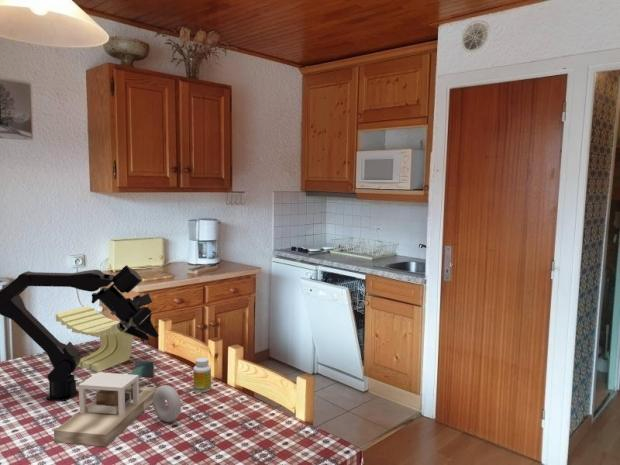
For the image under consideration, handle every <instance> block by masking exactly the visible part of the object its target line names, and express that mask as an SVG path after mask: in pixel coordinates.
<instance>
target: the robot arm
mask: <svg viewBox="0 0 620 465" xmlns="http://www.w3.org/2000/svg"><path fill="white" fill-rule="evenodd" d="M141 282H143V278H142V277H141V276H140V274H139V273H138V272H137V271H135V270H134V269H133V268H132V267H129V265H124V266H123V267H122V268H121V270H120V271H118V273H116V274H115V275H114V274H107V273H104V272H102V270H100V269H89V270H82V271H77V272H40V271H39V272H35V271H30V270H28V271H25V272H22V273H20V274H18V276H17V277H16V278H15V279H14V280H12V281H11V282H10V283H9V284H8V285H6V286H5V287H2V288H0V316H3V317H5V318H7V319H10V320H12V321H13V323H15V324H16V325H17V326H18V327H19V328H20V329H21V330H22V331H24V333H26V335H27V336H29V338H30V339H32V341H34V343H35V344H37V345H38V346H39V347H40V348H41V349H42V350H43V351H44V352H45V353H46V354H47V357H48V359H49V361H50V364H51V365H52V367H53V368H52V369H51V370H50V372H48V374H47V375H46V377H47V380H48V382H49V383H48V384H49V386H48V387H49V395H48V396H47V397H45V399H46V400H52V401H63V402H64V401H67V400H69V399H71V398H72V397H73V396H75V395H76V394H79V390H77V382H76V380H75V374H72V373H73V372H74V371H75V370H76V369H77V368H78V364H79V363H80V361H81V358H82V356H81V354H80V349H78V348H76V347H75V346H74V344H73V343H72V342H71V341H69V342H68V343H63V342H61V341H60V340H58V338H56V337H55V336H54V334H52V333H51V332H50V330H48V329H47V328H46V327H45V326H44V325H43V324H42V322H40V321H39V320H38V319H37V318H36V317H35V316H34V315H33V314H32V313H31V312H30V311H29V310H28V309H27V308H26V306H25V303H24V300H23V299H22V297H21V294H22V293H23V292H24V291H25V290H26V289H27V288H28V287H57V288H58V287H63V288H74V289H75V290H79V291H83V292H84V291H86V292H91V293H92V292H93V293H92V294H91V303H92V304H95V303H96V302H97V301H98V300H99V301H100V302H101V303H102V304H103V305H104V306H105V307H106V308H107V309H108V310H109V311H110V314H111V316H115V317H116V318H117V319H118V320H119V321H120V322H119V323H118V324H117V329H118V330H119V331H121V332H123V331H124V330H125V331H124V332H123V333H126V334H129V335H132V336H134V337H135V338H138V339H141V340H144V341H146V342H147V341H149V340H150V337H152V338H155V339H157V338H158V337H159V334H158V331H157V330H156V328H155V326H154V324H153V322H152V310H151V309H150V308H149V307H148V305H150V304H151V303H152V304H153V300H152V298H151V296H150V293H146V294H144V295H139V294H137V295H134V296H133V297H132V298H130V297H125V296H124V295H123V294H125V293H127V294H129V293H130V292H131V291H132V290H133V289H135V288H136V287H137V286H138V285H140V283H141ZM111 283H112V284H111ZM109 285H110V286H109ZM108 286H109V287H108ZM98 290H99V291H98ZM96 291H98V292H96ZM147 334H148V335H147ZM149 336H150V337H149Z"/></svg>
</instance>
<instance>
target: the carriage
mask: <svg viewBox="0 0 620 465" xmlns="http://www.w3.org/2000/svg"><path fill="white" fill-rule="evenodd" d="M155 371H156V370H155V360H145V359H135V360H134V369H133V370H131V371H130V372H129V373H128V374H131V375H139V380H140V378H143V379H144V378H145V379H146V378H147V379H154V378H155V377H156V376H155ZM130 386H133V383H132V384H131V385H130ZM130 386H129V387H130ZM127 388H128V387H127ZM127 388H126V389H127ZM126 389H125V390H126ZM130 402H131V392H125V407H126V406H127V405H128V404H129V403H130ZM87 405H88V412H91V413H104V414H117V413H119V407H118V405H108V404H96V403H91V402H90V403H88V404H87Z"/></svg>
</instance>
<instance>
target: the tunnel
mask: <svg viewBox="0 0 620 465" xmlns="http://www.w3.org/2000/svg"><path fill="white" fill-rule="evenodd" d="M132 383H133V384H132ZM131 384H132V385H131ZM130 385H131V386H133V404H138V403H139V386H140V379H139V375H131V374H129V373H128V374H126V373H115V372H113V373H112V372H102V371H99V372H98V371H96V373H95V374H93V375H92V376H90V377H88V378H87V379H85V380H84V381H82V382H80V383H79V384H78V397H79V398H78V399H79V401H78V403H79V411H80V414H84V413H86V406H87V391H86V390H95V394H96V393H97V392H99V391H100V390H109V391H118V407H119V417H123V416H125V389H126V388H127V387H129V386H130Z"/></svg>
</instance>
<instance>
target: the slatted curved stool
mask: <svg viewBox="0 0 620 465" xmlns="http://www.w3.org/2000/svg"><path fill="white" fill-rule="evenodd" d="M55 322H58V323H60V325H61V326H66V329H67V330H71V333H74V334H81V335H85V336H90V337H94V338H100V340H101V345H100V347H99V348H98V349H97V350H95V351H94V352H92V353H90V354H88V355H86V356H83V357H81V361H80V363H79V364H78V366H77V368H78V367H79V368H82V369H86V370H91V371H95V372H102V371H104V370H107V369H109V368H112V367H114V366H115V367H116V366H117V365H120V364H122V363H124V362H127V361H129V359H130V358H131V354H132V345H133V340H134V337H135V336H132V335H129V334H126V333H123V332H124V331H125V330H124V331H123V332H121V331H119V330H118V329H117V324H118V323H119V322H120V320H119V321H118V320H114V319H111V318H109V317H106V315H103V314H102V313H101V312H100V311H98V310H96V309H95V308H94V307H91V306H88V305H85V306H80V307H77V308H76V307H75V308H72V309H69V310H65V311H59V312H56V313H55ZM147 336H149V335H148V334H147Z"/></svg>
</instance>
